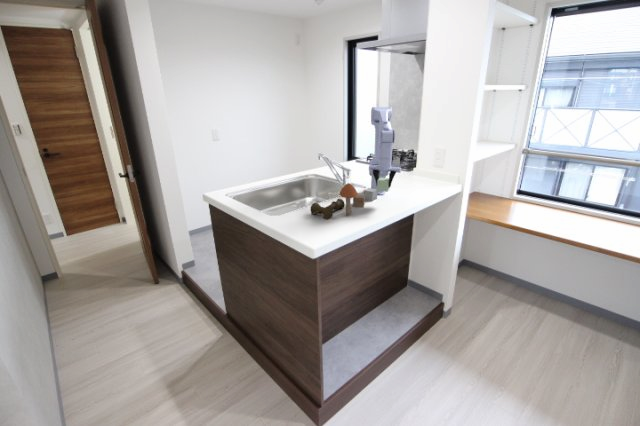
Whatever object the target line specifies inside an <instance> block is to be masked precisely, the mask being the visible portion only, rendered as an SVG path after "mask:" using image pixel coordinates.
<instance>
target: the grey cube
mask: <svg viewBox="0 0 640 426" xmlns="http://www.w3.org/2000/svg"><path fill="white" fill-rule="evenodd" d="M363 194H365V200H364V201H369V202H374V201H375V200H378V194H377V189H372V188H371V187H368V188H366V189H364V190H363Z"/></svg>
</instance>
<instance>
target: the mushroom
mask: <svg viewBox="0 0 640 426" xmlns="http://www.w3.org/2000/svg"><path fill="white" fill-rule="evenodd" d="M358 194H359V193H358V192H357V190H356V188H355V187H354V186H353V184H351V183H346V184H345V185H344V186H342V188H341V189H340V191H339V196H340V197H341V198H345V209H344V211H345V212H344V214H345V215H346V216H347V217H348V216H351V215H352V214H353V210H352V205H351V198H352V199H353V197H356V196H357V195H358Z"/></svg>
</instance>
